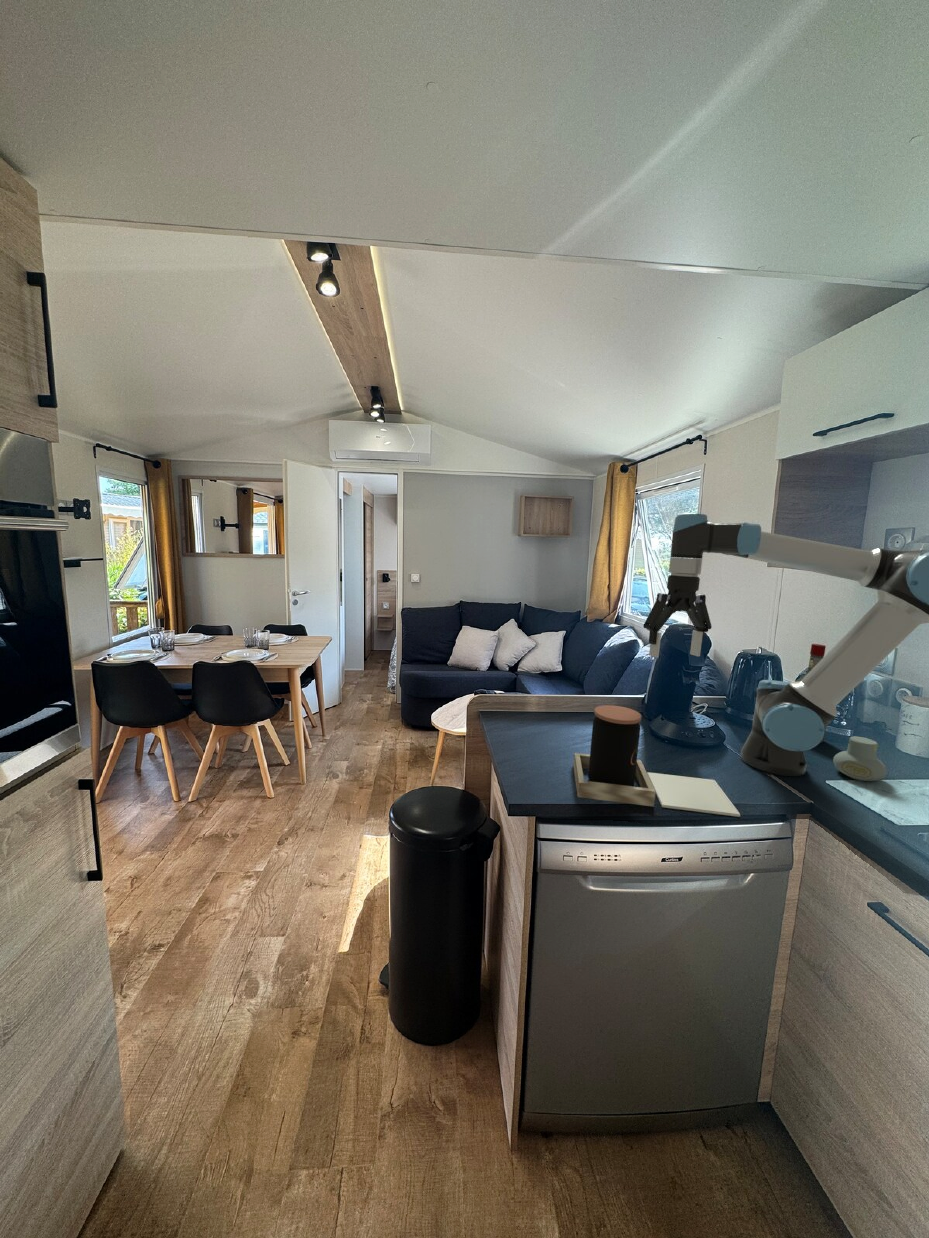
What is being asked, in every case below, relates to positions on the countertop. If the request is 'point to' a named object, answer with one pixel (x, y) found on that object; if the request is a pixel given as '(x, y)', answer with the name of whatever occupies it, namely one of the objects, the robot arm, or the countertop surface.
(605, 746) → the coffee jar
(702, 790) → the cream mat
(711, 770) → the countertop surface
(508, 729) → the countertop surface
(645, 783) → the birch corral
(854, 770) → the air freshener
